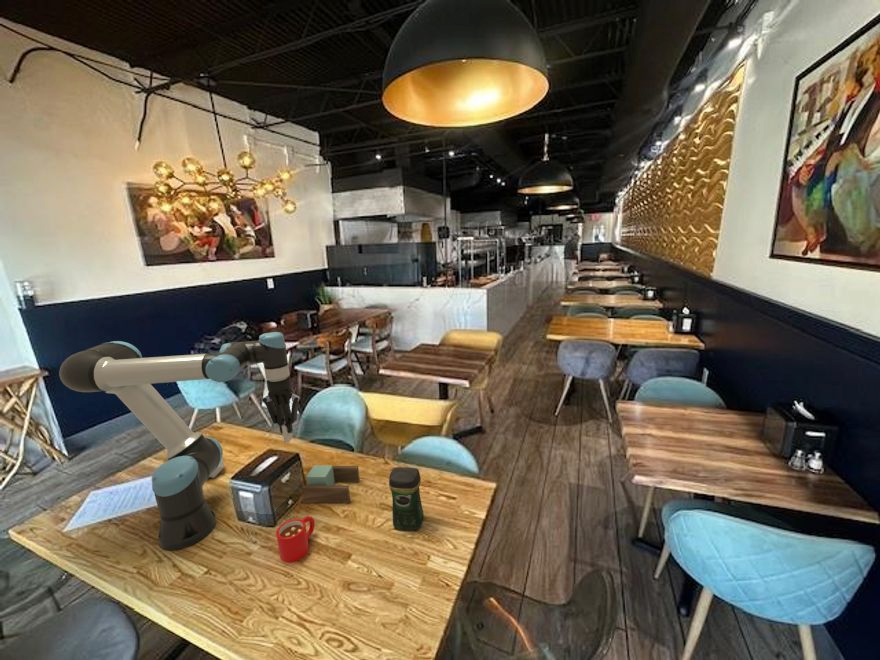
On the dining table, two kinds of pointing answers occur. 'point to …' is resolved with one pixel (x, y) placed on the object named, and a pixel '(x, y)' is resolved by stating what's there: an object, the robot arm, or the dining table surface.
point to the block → (321, 475)
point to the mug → (294, 538)
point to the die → (218, 469)
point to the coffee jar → (406, 498)
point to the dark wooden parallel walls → (332, 487)
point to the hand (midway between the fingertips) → (288, 440)
